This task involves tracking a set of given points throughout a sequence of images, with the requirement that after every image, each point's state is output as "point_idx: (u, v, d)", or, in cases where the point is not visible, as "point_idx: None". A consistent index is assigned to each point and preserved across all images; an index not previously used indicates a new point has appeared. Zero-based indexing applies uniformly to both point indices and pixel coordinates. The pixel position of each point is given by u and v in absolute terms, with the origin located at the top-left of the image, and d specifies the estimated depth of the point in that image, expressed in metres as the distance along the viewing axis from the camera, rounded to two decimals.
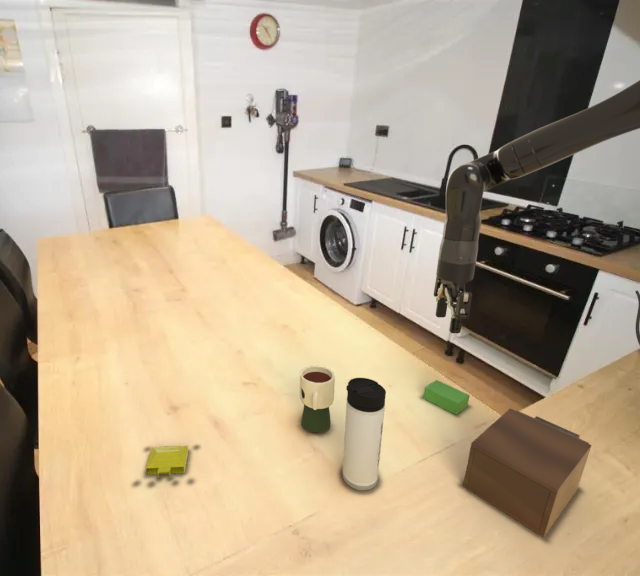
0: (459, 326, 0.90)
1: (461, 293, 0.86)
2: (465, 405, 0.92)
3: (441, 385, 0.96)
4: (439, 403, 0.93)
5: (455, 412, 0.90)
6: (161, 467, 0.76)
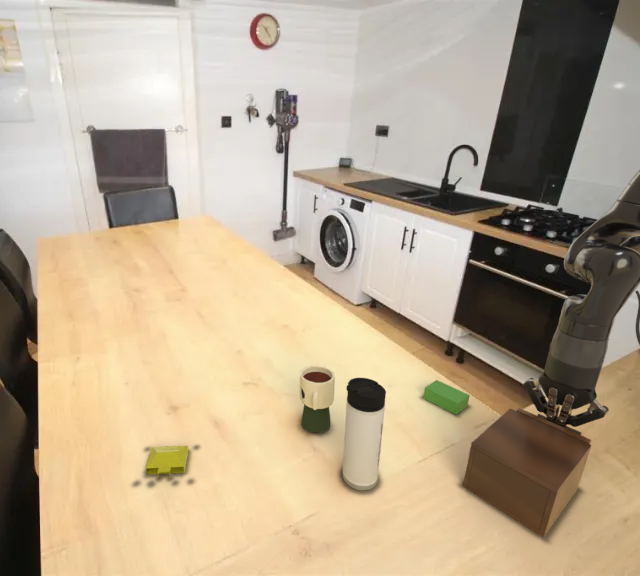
0: None
1: (604, 414, 0.69)
2: (465, 405, 0.92)
3: (441, 385, 0.96)
4: (439, 403, 0.93)
5: (455, 412, 0.90)
6: (161, 467, 0.76)
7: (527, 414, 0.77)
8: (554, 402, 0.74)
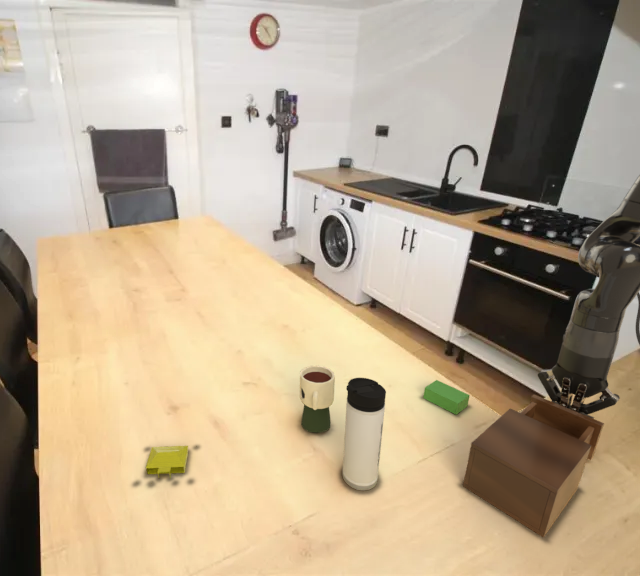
0: None
1: (615, 401, 0.73)
2: (465, 405, 0.92)
3: (441, 385, 0.96)
4: (439, 403, 0.93)
5: (455, 412, 0.90)
6: (161, 467, 0.76)
7: (542, 400, 0.80)
8: (567, 391, 0.78)
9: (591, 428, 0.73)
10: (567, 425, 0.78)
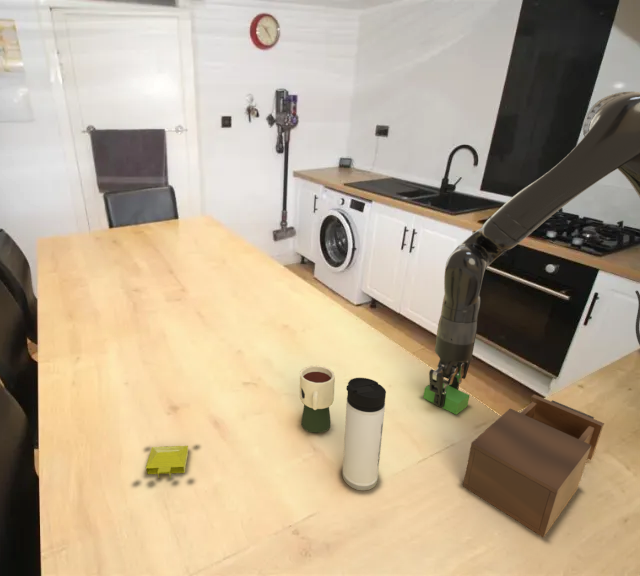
0: (439, 400, 0.91)
1: (431, 371, 0.88)
2: (465, 405, 0.92)
3: None
4: None
5: (455, 412, 0.90)
6: (161, 467, 0.76)
7: (542, 400, 0.80)
8: None
9: (591, 428, 0.73)
10: (567, 425, 0.78)
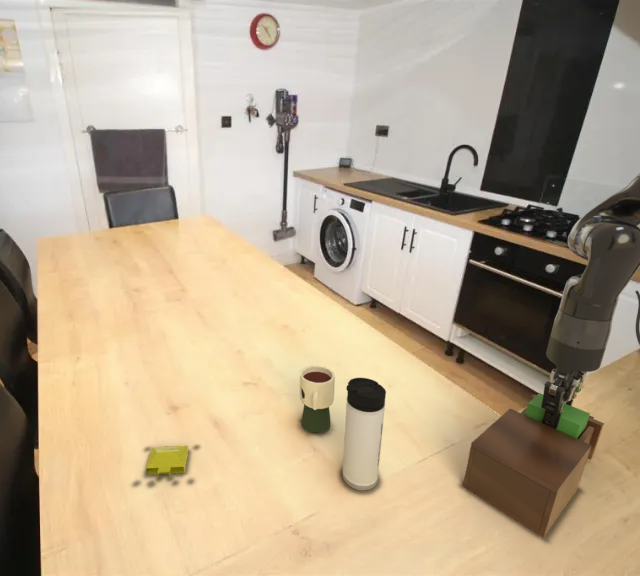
0: (552, 420, 0.71)
1: (547, 384, 0.68)
2: (584, 426, 0.72)
3: None
4: None
5: (574, 436, 0.70)
6: (161, 467, 0.76)
7: None
8: None
9: (591, 428, 0.73)
10: None
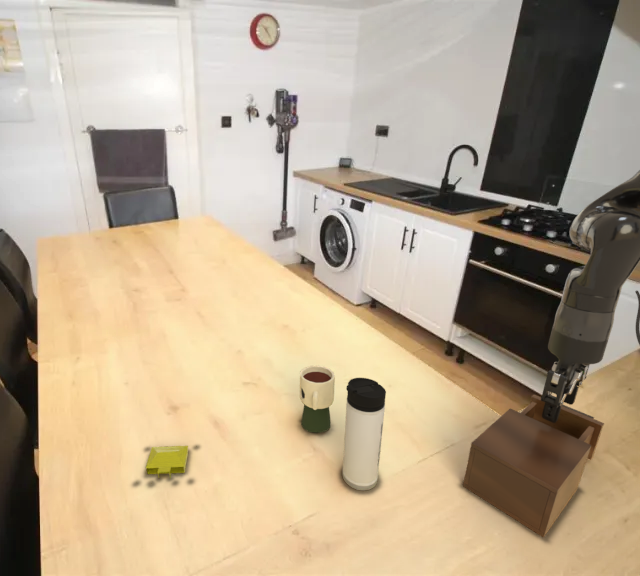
0: (552, 413, 0.70)
1: (551, 372, 0.67)
2: None
3: None
4: None
5: None
6: (161, 467, 0.76)
7: None
8: None
9: (591, 428, 0.73)
10: (567, 425, 0.78)
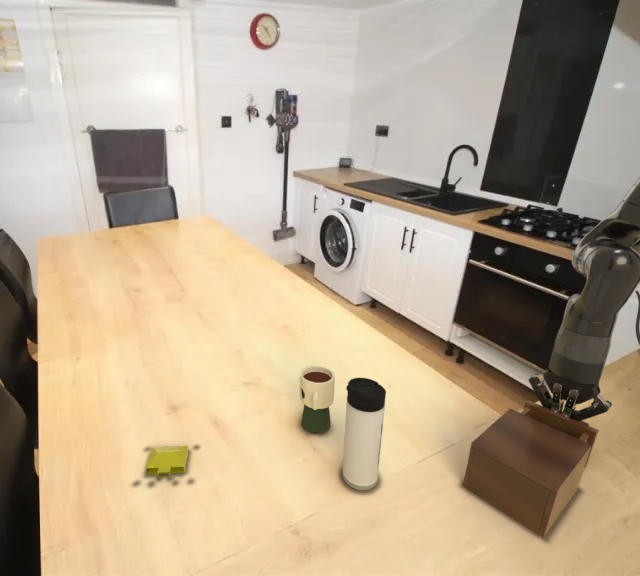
0: None
1: (607, 408, 0.70)
2: None
3: None
4: None
5: None
6: (161, 467, 0.76)
7: (536, 406, 0.79)
8: (558, 397, 0.76)
9: (585, 435, 0.71)
10: None
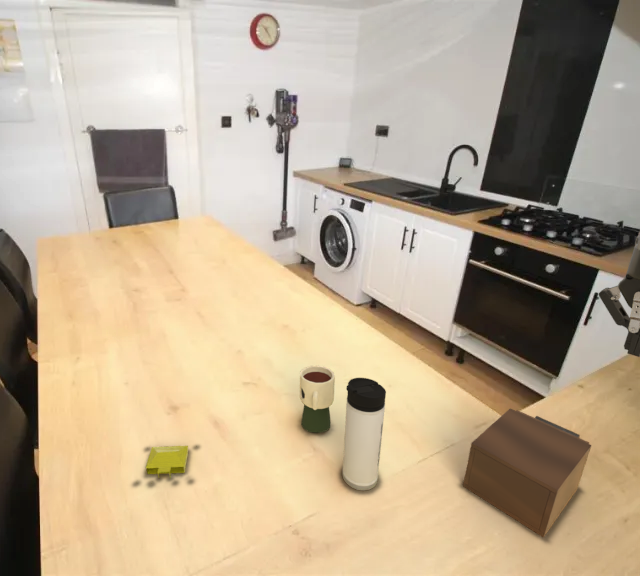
0: None
1: None
2: None
3: None
4: None
5: None
6: (161, 467, 0.76)
7: None
8: None
9: None
10: None
